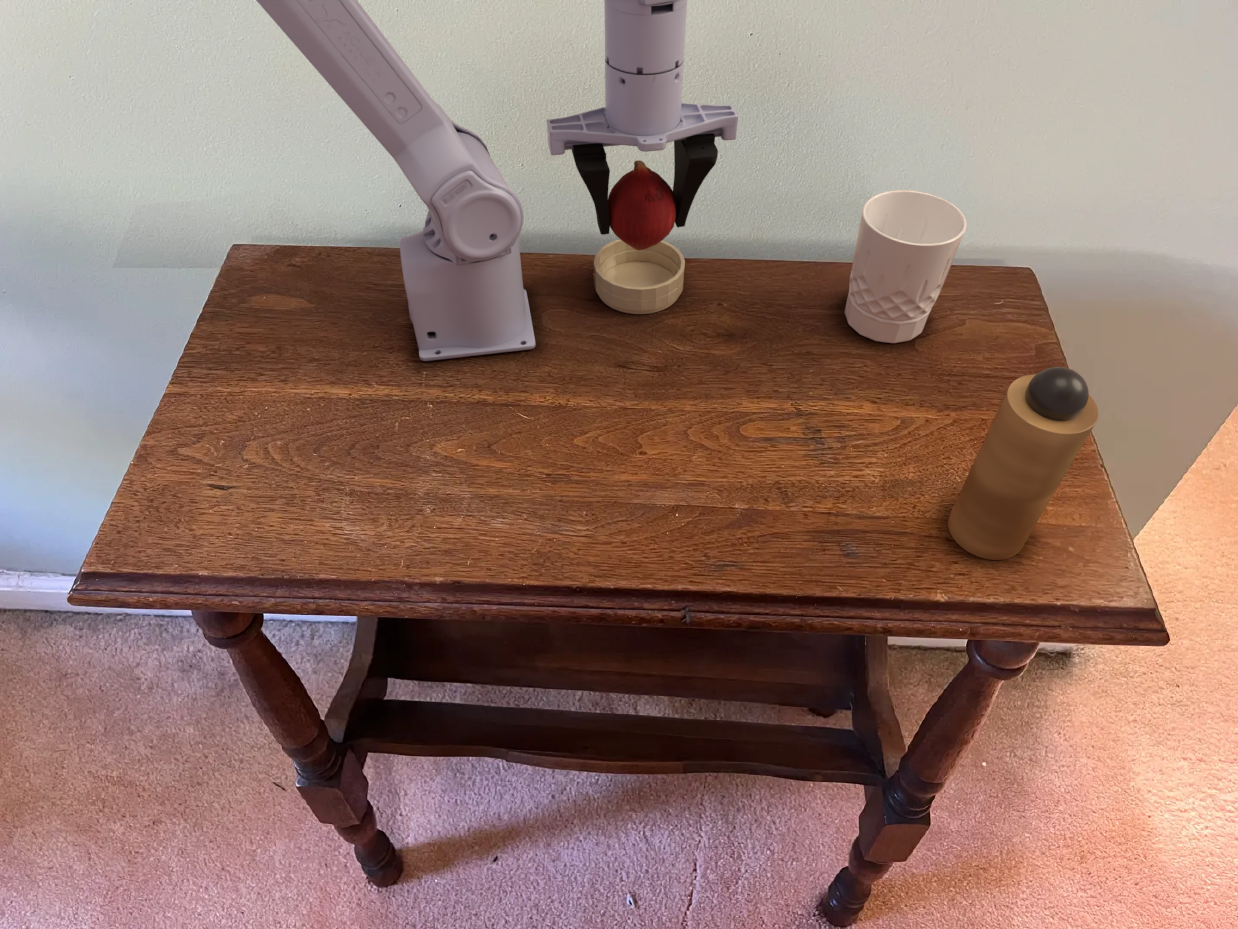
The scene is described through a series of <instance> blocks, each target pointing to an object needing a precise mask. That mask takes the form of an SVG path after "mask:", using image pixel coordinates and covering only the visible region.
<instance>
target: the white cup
mask: <svg viewBox="0 0 1238 929" xmlns="http://www.w3.org/2000/svg"><path fill="white" fill-rule="evenodd" d="M967 226H968V224H967V218H966V217H965V215H964V213H963V212H962V211H961V210H960V209H959V207H957V206H956V205H955V204H953V203H952V202H950V201H949V200H946V199H945V198H942V197H940V196H937V195H934V194H931V193H928V192H923V191H919V190H910V189H909V190H907V189H906V190H904V189H898V190H896V189H895V190H888V191H883V192H880V193H878V194H875V195H873V196H871V197H870V198H868V199H867V200H866V202H865V203H864V204H863V207H862V209H861V214H860V221H859V226H858V230H857V236H856V241H855V246H854V251H853V256H852V263H851V271H850V275H849V283H848V284H849V285H848V294H847V298H846V304H845V307H844V316H845V318H846V322H847V324H848V326H850V328H852V329H853V330H854V331H855V332H856V333H857V334H859V335H861V336H862V337H865V338H867V339H870V340H872V341H874V342H880V343H887V344H888V343H889V344H898V343H905V342H909V341H911V340H913V339H915V338H916V337H918V336H919V335H920V334H922V333H923V330H924V328H925V326H926V323H927V320H928V318H929V315H930V313H931V311H932V309H933V307H934V305H935V304H936V302H937V299H938V298H939V296H940V294H941V291H942V289H943V287H944V284H945V282H946V279H947V277H948V274H949V272H950V270H951V267H952V265H953V262H954V260H955V258H956V254H957V252H958V249H959V247H960V245H961V241H962V240H963V238H964V235H965V232H966V231H967Z"/></svg>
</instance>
